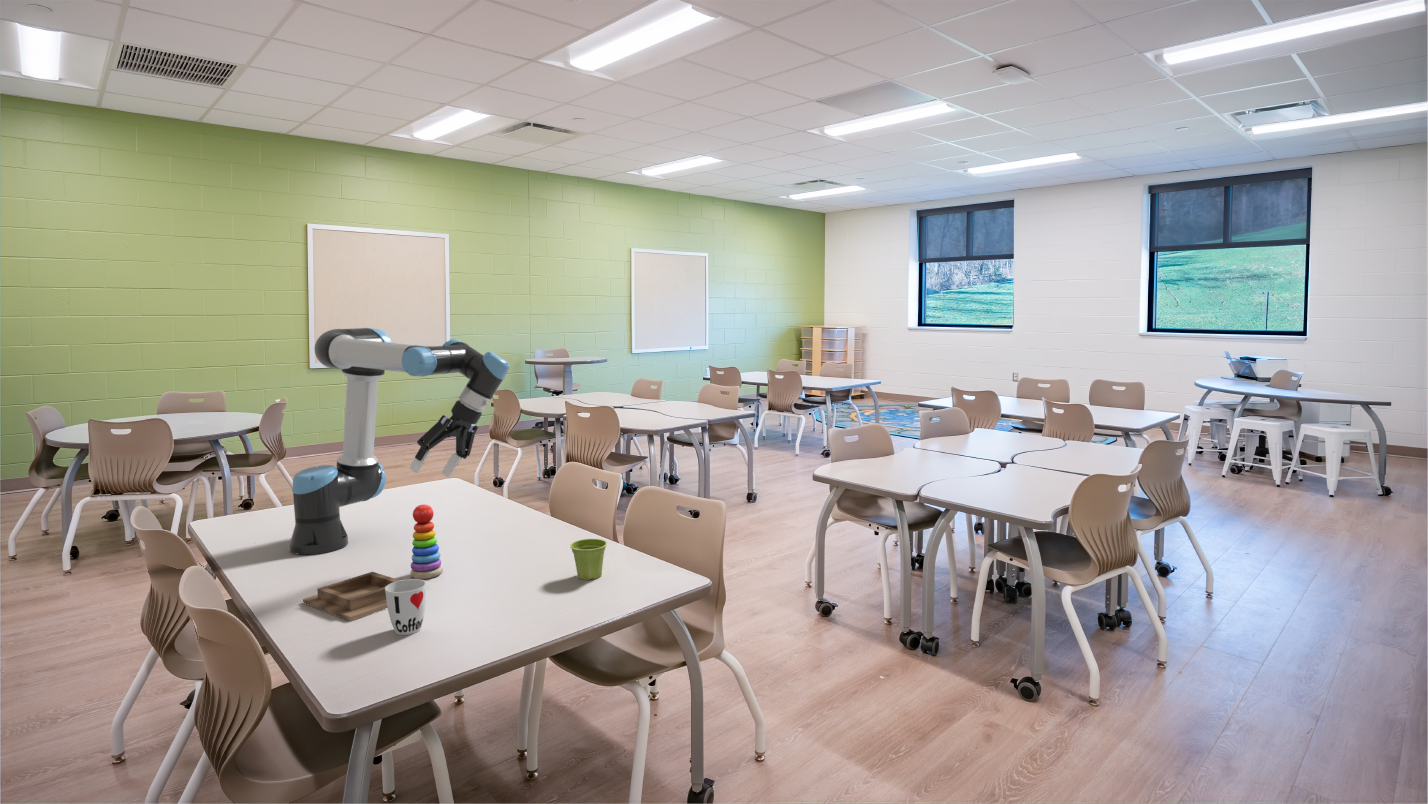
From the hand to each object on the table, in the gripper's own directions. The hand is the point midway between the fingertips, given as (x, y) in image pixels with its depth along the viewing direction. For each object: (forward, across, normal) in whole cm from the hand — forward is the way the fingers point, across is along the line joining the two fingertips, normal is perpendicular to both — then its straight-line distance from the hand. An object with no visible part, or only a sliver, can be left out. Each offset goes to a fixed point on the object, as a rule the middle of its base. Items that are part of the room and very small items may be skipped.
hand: (429, 472), depth 201 cm
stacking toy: (+22, -1, -16) cm, 27 cm away
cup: (+20, -30, -37) cm, 52 cm away
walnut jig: (+28, -19, -16) cm, 37 cm away
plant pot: (-1, +9, -52) cm, 53 cm away
